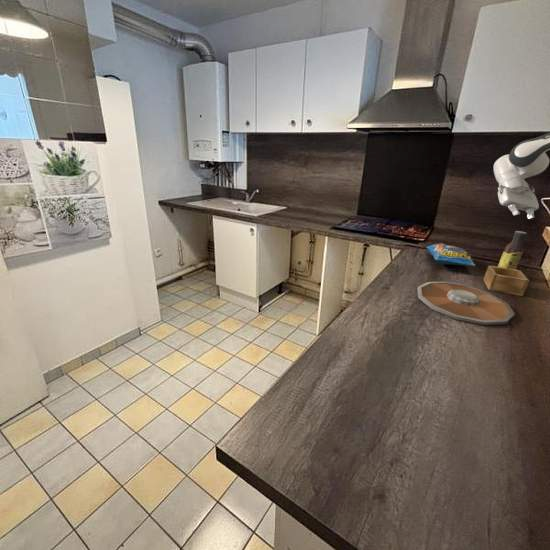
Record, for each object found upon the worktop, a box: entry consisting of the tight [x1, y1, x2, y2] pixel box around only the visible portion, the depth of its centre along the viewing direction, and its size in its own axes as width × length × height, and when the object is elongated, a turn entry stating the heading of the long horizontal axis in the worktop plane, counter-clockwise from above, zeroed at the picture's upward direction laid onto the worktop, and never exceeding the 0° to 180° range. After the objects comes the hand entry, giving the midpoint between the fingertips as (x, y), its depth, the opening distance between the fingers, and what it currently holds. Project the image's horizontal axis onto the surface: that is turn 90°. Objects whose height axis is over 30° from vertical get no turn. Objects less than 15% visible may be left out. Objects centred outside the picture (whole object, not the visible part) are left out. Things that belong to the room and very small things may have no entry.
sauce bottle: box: [497, 230, 528, 270], centre depth 125 cm, size 7×6×20 cm
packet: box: [426, 242, 476, 267], centre depth 139 cm, size 17×24×8 cm
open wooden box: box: [483, 265, 530, 297], centre depth 116 cm, size 11×11×7 cm
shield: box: [416, 281, 516, 327], centre depth 103 cm, size 30×3×30 cm
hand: (524, 216), depth 122 cm, fingers open, 8 cm apart
